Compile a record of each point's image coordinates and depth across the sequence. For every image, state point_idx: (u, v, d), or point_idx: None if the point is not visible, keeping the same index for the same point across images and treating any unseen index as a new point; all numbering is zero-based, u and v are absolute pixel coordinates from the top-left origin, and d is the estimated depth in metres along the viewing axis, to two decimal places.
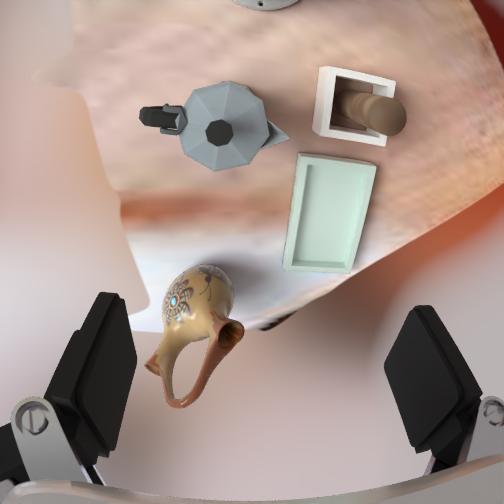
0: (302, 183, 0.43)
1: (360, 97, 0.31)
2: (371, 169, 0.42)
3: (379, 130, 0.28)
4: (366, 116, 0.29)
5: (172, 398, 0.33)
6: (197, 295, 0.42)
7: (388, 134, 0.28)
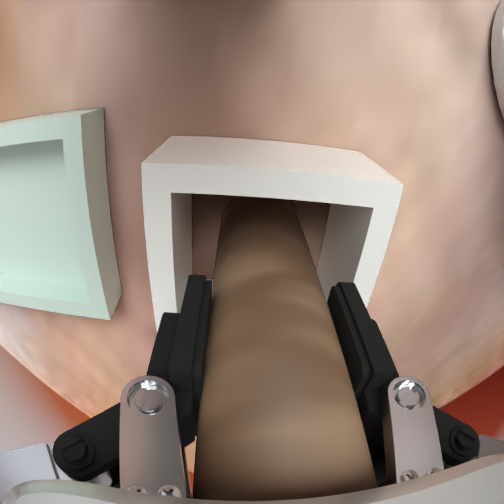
0: (16, 137, 0.11)
1: (328, 331, 0.08)
2: (99, 309, 0.16)
3: None
4: (271, 455, 0.05)
5: None
6: None
7: None
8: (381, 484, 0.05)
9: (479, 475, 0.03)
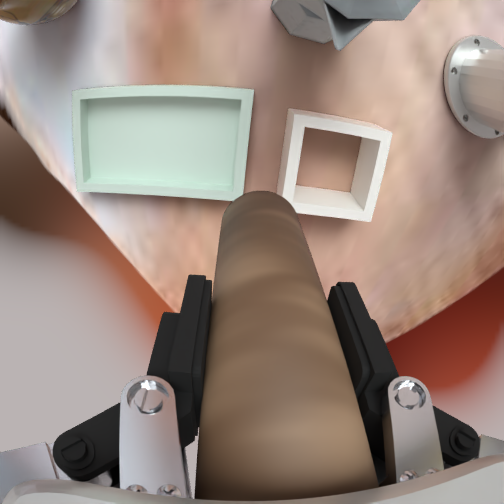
0: (211, 94, 0.26)
1: (330, 332, 0.08)
2: (237, 194, 0.31)
3: None
4: (274, 456, 0.05)
5: None
6: None
7: None
8: (381, 484, 0.05)
9: (479, 475, 0.03)
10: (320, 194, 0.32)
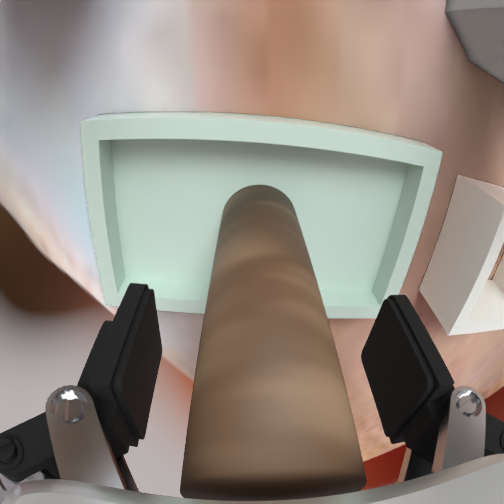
0: (378, 151, 0.14)
1: (317, 308, 0.09)
2: None
3: (196, 485, 0.05)
4: (256, 409, 0.05)
5: None
6: None
7: (189, 496, 0.05)
8: None
9: (479, 475, 0.03)
10: None
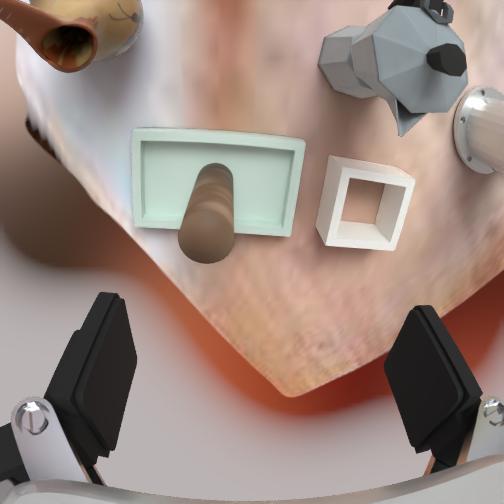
0: (269, 144, 0.31)
1: (226, 196, 0.26)
2: (286, 230, 0.36)
3: (183, 227, 0.22)
4: (201, 206, 0.23)
5: None
6: (117, 0, 0.17)
7: (180, 241, 0.23)
8: None
9: (479, 475, 0.03)
10: (353, 228, 0.37)
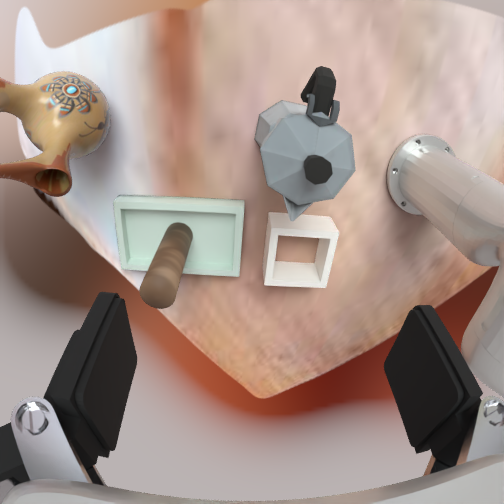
0: (215, 210, 0.42)
1: (175, 259, 0.37)
2: (235, 272, 0.47)
3: (142, 287, 0.33)
4: (153, 272, 0.33)
5: None
6: (83, 119, 0.28)
7: (141, 294, 0.33)
8: None
9: (479, 475, 0.03)
10: (292, 268, 0.48)
